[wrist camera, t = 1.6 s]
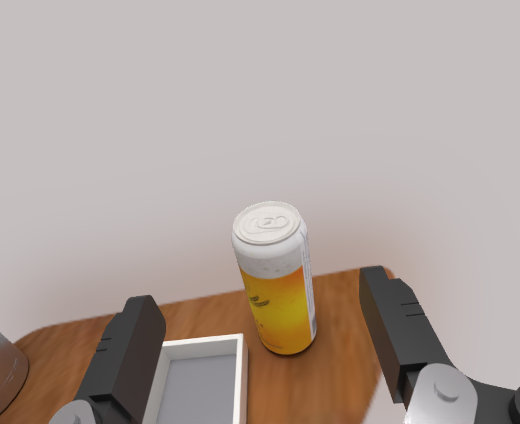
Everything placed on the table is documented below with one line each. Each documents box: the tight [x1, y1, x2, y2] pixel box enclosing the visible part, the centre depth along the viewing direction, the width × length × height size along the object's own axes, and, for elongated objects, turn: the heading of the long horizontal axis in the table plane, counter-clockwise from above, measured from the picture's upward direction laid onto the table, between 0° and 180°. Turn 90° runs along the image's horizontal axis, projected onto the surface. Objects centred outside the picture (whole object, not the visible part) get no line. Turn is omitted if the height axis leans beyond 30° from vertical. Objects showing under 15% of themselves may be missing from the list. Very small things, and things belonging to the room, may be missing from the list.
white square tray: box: [142, 333, 249, 424], centre depth 28 cm, size 9×9×3 cm
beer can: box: [231, 201, 316, 354], centre depth 28 cm, size 6×6×15 cm
